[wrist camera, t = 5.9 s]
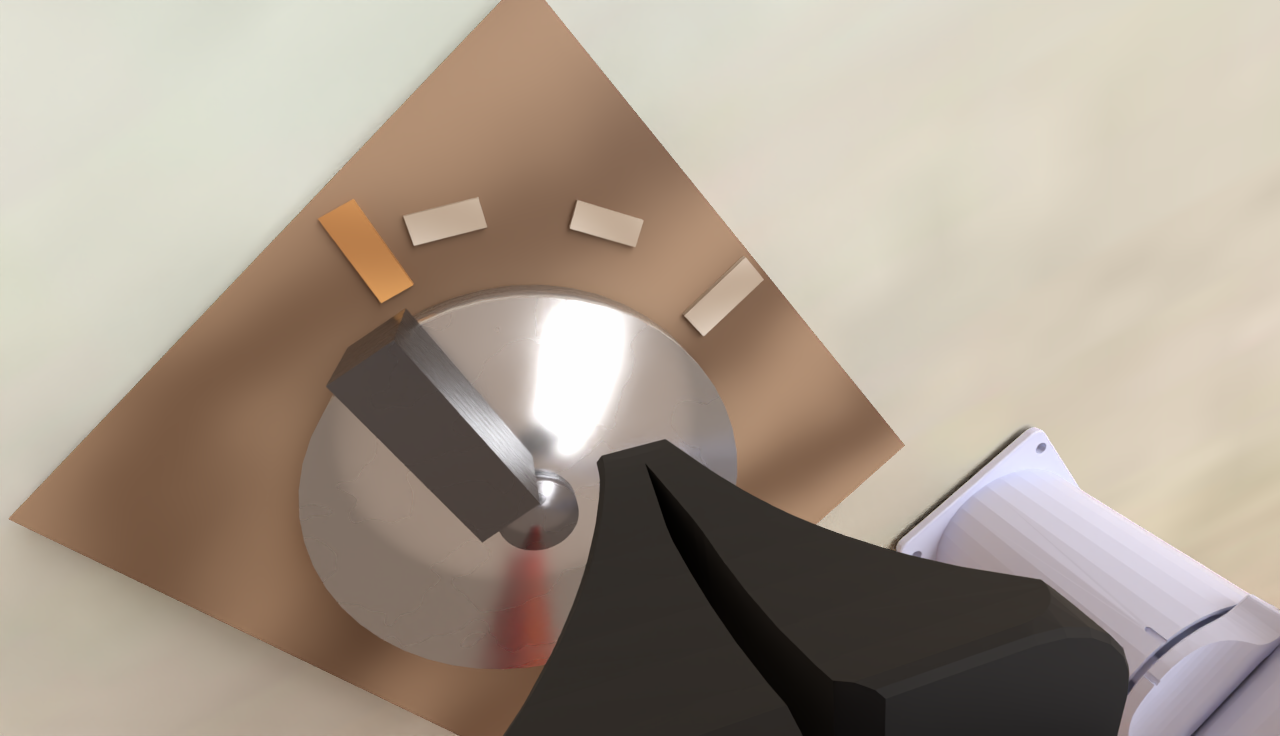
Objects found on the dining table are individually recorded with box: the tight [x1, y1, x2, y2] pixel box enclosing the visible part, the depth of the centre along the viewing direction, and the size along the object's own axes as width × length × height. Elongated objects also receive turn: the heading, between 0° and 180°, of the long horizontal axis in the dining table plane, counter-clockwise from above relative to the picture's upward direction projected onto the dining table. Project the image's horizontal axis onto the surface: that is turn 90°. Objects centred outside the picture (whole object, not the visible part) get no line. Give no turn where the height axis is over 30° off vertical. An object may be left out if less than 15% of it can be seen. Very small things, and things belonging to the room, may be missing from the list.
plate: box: [9, 0, 905, 736], centre depth 21 cm, size 20×20×1 cm
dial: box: [299, 285, 737, 669], centre depth 18 cm, size 13×14×4 cm
